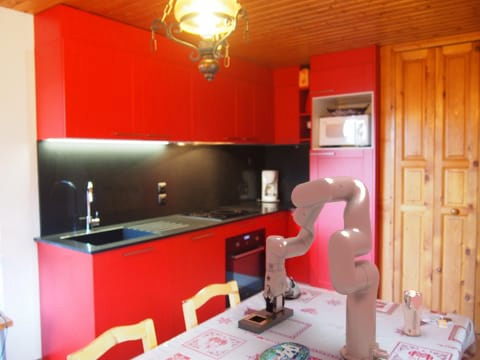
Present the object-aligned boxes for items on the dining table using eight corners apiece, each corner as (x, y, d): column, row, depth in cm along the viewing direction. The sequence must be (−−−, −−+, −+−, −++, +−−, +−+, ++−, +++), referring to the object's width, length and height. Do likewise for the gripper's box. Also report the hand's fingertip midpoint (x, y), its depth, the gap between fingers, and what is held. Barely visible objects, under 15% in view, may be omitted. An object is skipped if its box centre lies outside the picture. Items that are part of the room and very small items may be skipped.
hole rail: (293, 316, 165) (293, 308, 165) (259, 335, 147) (259, 327, 147) (273, 311, 172) (273, 303, 172) (238, 328, 153) (238, 320, 153)
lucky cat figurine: (306, 297, 188) (300, 275, 182) (284, 310, 185) (278, 288, 179) (290, 280, 201) (284, 259, 195) (269, 292, 198) (263, 271, 192)
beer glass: (410, 337, 145) (411, 297, 144) (398, 330, 151) (398, 291, 151) (426, 335, 147) (427, 295, 146) (413, 328, 153) (414, 289, 153)
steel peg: (282, 316, 164) (282, 294, 164) (276, 319, 161) (276, 297, 161) (274, 313, 167) (274, 292, 166) (268, 316, 164) (268, 295, 163)
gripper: (270, 272, 154) (270, 317, 155) (294, 263, 167) (294, 305, 168) (255, 269, 159) (255, 312, 159) (279, 260, 172) (279, 301, 173)
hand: (275, 308), depth 164 cm, fingers open, 7 cm apart
